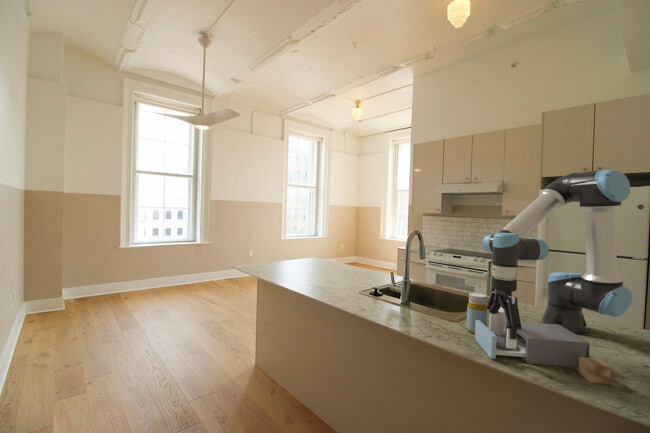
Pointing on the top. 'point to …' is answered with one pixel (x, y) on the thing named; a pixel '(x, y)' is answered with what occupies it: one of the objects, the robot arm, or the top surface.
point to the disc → (502, 343)
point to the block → (594, 370)
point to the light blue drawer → (489, 342)
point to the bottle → (476, 311)
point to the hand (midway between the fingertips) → (501, 339)
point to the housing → (551, 344)
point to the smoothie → (500, 322)
